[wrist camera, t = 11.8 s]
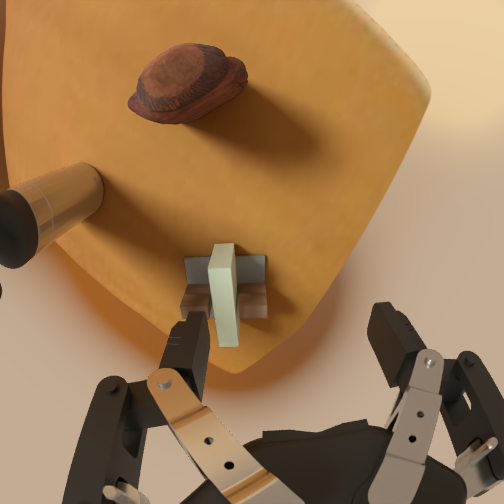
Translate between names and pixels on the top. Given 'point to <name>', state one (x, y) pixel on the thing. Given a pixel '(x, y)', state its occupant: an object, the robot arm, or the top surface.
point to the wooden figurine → (187, 84)
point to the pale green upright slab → (225, 294)
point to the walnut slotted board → (249, 300)
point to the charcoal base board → (246, 270)
